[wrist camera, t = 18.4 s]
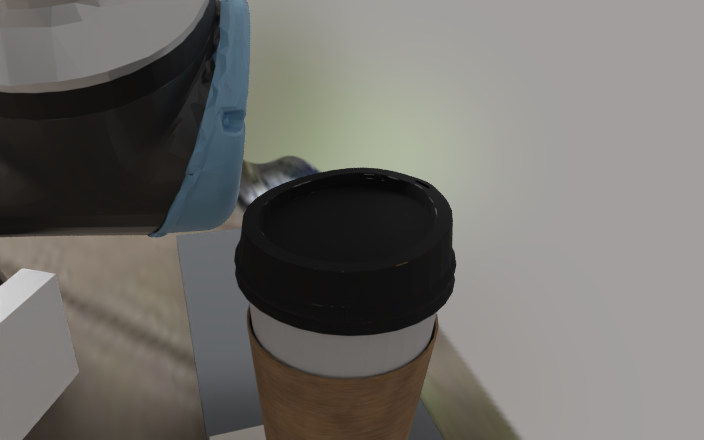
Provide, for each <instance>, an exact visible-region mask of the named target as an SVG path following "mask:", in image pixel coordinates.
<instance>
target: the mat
mask: <svg viewBox="0 0 704 440" xmlns="http://www.w3.org/2000/svg"><path fill="white" fill-rule="evenodd" d="M241 229H242V228H239V229H230V230H222V231H213V232H205V233H196V234H187V235H179V236H176V237H177V246H178V253H179V259H180V266H181V272H182V279H183V286H184V292H185V299H186V305H187V312H188V318H189V325H190V332H191V338H192V345H193V351H194V358H195V364H196V371H197V378H198V384H199V391H200V397H201V404H202V410H203V417H204V424H205V430H206V437H207V440H266V437H265V431H264V425H263V419H262V413H261V407H260V400H259V394H258V388H257V382H256V376H255V370H254V364H253V358H252V352H251V346H250V340H249V334H248V328H247V310H248V307H249V305H250V304H249V301H248V300H247V299H246V298H245V296H244V295H243V293H242V292H241V290H240V289H239V287H238V284H237V280H236V276H235V268H236V266H235V262H234V257H235V249H236V247H237V245H238V243H239V241H240V237H241ZM408 440H444V439H443V437H442V435H441V434H440V432H439V430H438V428H437V427H436V425H435V423H434V422H433V420H432V418H431V416H430V415H429V413H428V411H427V410H426V408H425V406H424V404H423V403H422V401H421V399H420V398H419V401H418V405H417V408H416V412H415V416H414V419H413V423H412V426H411V430H410V434H409V437H408Z"/></svg>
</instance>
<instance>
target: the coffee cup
mask: <svg viewBox="0 0 704 440" xmlns="http://www.w3.org/2000/svg"><path fill="white" fill-rule="evenodd" d="M452 222H453V219H452V210H451V208H450V205H449V203H448V202H447V200H446V199H445V197H444V196H443V195H442V194H441V193H440V192H439V191H438V190H437V189H436V188H435V187H434V186H433V185H431V184H429V183H428V182H426V181H423V180H421V179H418V178H415V177H412V176H408V175H405V174H402V173H398V172H394V171H389V170H383V169H375V168H346V169H339V170H331V171H327V172H321V173H317V174H312V175H309V176H305V177H301V178H298V179H295V180H292V181H289V182H286V183H284V184H281V185H279V186H277V187H275V188H273V189H270V190H268V191H267V192H265V193H264V194H262V195H260V196H259V197H257V198H256V199H255V200H254V201H253V202H252V203H251V204H250V205H249V206H248V208H247V210H246V211H245V213H244V215H243V222H242V229H241V237H240V241H239V243H238V245H237V247H236V249H235V257H234V262H235V266H236V268H235V276H236V280H237V284H238V287H239V289H240V290H241V292H242V293H243V295H244V296H245V298H246V299H247V300H248V301H249V304H250V305H249V307H248V310H247V328H248V334H249V340H250V346H251V352H252V358H253V364H254V370H255V376H256V382H257V388H258V394H259V400H260V407H261V413H262V419H263V425H264V431H265V437H266V440H408V437H409V434H410V430H411V426H412V423H413V419H414V416H415V412H416V408H417V405H418V401H419V397H420V394H421V390H422V387H423V383H424V379H425V376H426V372H427V369H428V365H429V361H430V358H431V354H432V350H433V347H434V343H435V340H436V335H437V331H438V318H437V311H438V310H439V309H440V308H441V307H442V306H443V305H444V304H446V302H447V300H448V299H449V297H450V295H451V294H452V292H453V287H454V282H455V277H454V273H455V268H456V260H455V253H454V251H453V249H452V227H453V223H452Z"/></svg>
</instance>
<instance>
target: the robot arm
mask: <svg viewBox="0 0 704 440" xmlns="http://www.w3.org/2000/svg"><path fill="white" fill-rule="evenodd" d="M249 64H250V13H249V6H248V2H247V1H246V0H0V237H25V236H84V235H148V236H149V237H157V238H158V237H162V236H165V235H166V234H167V233H175V232H189V231H203V230H210V229H213V228H216V227H218V226H220V225H221V224H223V223H224V222H225V221H226V220H227V219H228V218H229V217H230V216H231V214H232V213H233V211H234V209H235V206H236V203H237V199H238V194H239V188H240V181H241V173H242V164H243V154H244V140H245V123H244V118H245V116H246V103H247V96H248V85H249V84H248V83H249ZM78 374H79V369H78V365H77V361H76V357H75V352H74V348H73V344H72V340H71V336H70V332H69V327H68V323H67V319H66V315H65V311H64V307H63V302H62V298H61V294H60V290H59V286H58V282H57V277H56V274H53V273H47V272H41V271H35V270H30V269H24V268H22V269H21V270H20V271H18V272H17V273H16V274H15V275H13V276H12V277H11V278H10V279H7V278H6V277H5V275H4V274H3V273H2V272H1V270H0V440H23V438H24V437H25V436H26V435H27V434H28V432H29V431H30V430H31V429H32V428H33V427H34V425H35V424H36V423H37V422H38V421H39V420H40V418H41V417H42V416H43V415H44V414H45V412H46V411H47V410H48V409H49V408H50V407H51V405H52V404H53V403H54V402H55V401H56V400H57V398H58V397H59V396H60V395H61V394H62V392H63V391H64V390H65V389H66V388H67V387H68V385H69V384H70V383H71V382H72V381H73V380H74V378H75V377H76V376H77V375H78Z"/></svg>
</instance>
